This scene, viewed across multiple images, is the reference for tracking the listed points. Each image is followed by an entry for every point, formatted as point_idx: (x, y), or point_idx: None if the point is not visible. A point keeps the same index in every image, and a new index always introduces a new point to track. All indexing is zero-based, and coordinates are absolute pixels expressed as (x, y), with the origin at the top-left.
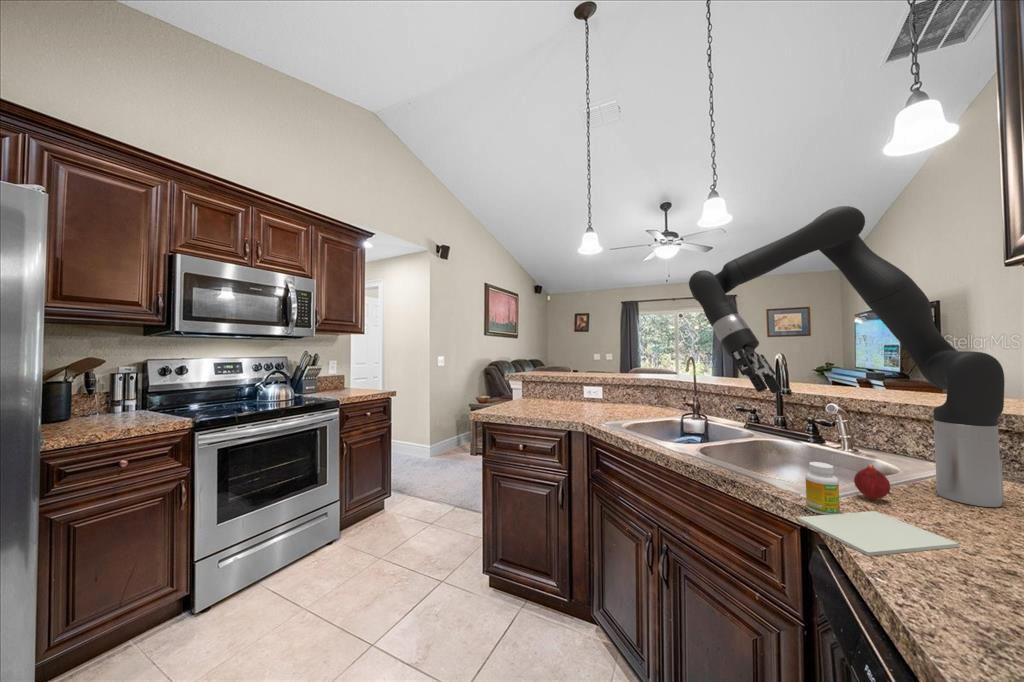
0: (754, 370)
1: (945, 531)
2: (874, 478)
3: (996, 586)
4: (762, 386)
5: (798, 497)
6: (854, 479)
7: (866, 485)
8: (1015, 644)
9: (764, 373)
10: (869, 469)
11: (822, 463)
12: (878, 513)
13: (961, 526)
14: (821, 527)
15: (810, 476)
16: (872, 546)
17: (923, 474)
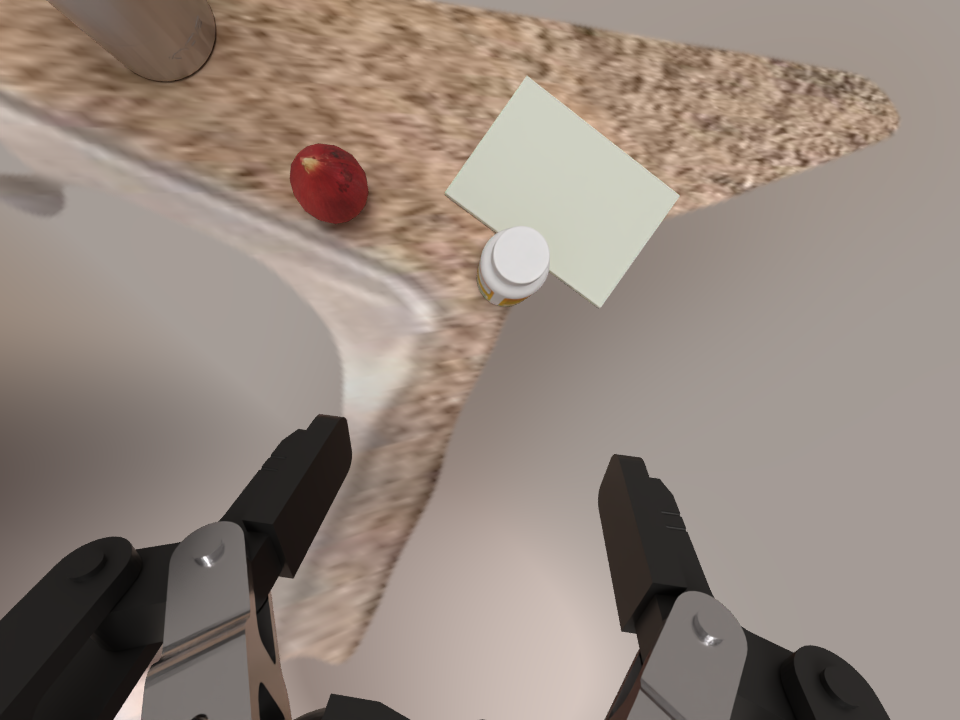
0: (740, 656)
1: (452, 91)
2: (351, 168)
3: (654, 55)
4: (662, 484)
5: (450, 331)
6: (334, 219)
7: (364, 194)
8: (807, 64)
9: (114, 660)
10: (326, 169)
11: (503, 253)
12: (456, 186)
13: (397, 64)
14: (622, 265)
15: (541, 283)
16: (648, 190)
17: None
